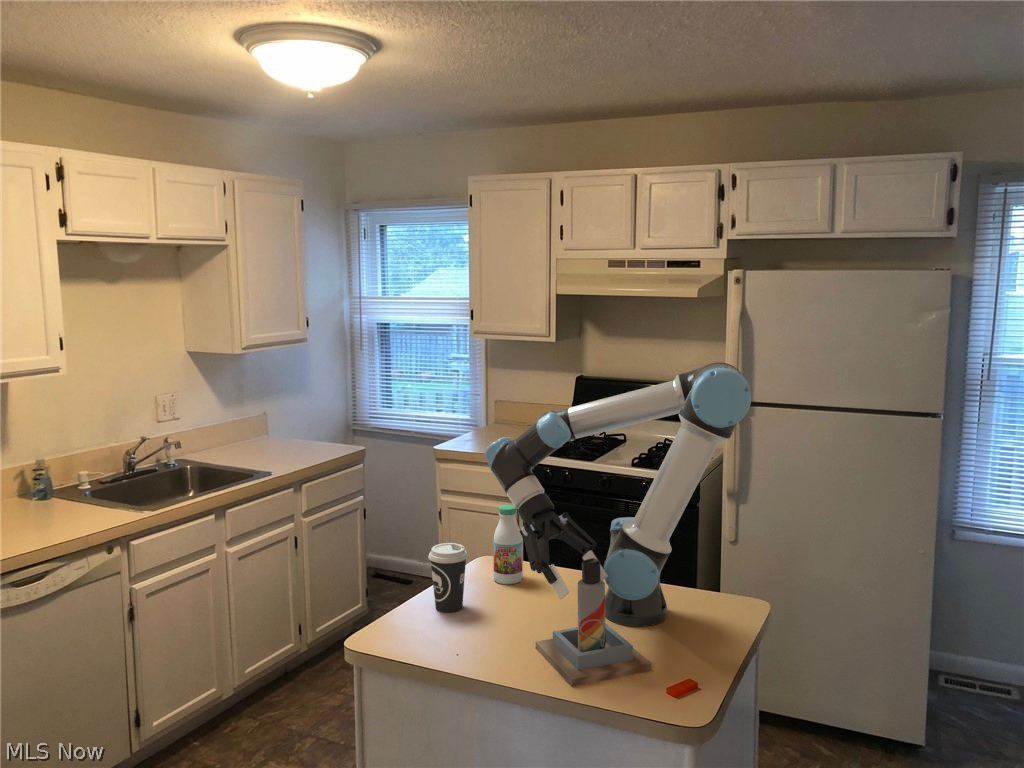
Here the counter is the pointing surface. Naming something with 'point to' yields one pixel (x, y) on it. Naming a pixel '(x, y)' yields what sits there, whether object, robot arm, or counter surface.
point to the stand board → (591, 674)
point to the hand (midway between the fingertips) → (584, 587)
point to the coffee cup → (448, 576)
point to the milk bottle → (508, 548)
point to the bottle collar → (595, 658)
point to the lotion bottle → (591, 607)
